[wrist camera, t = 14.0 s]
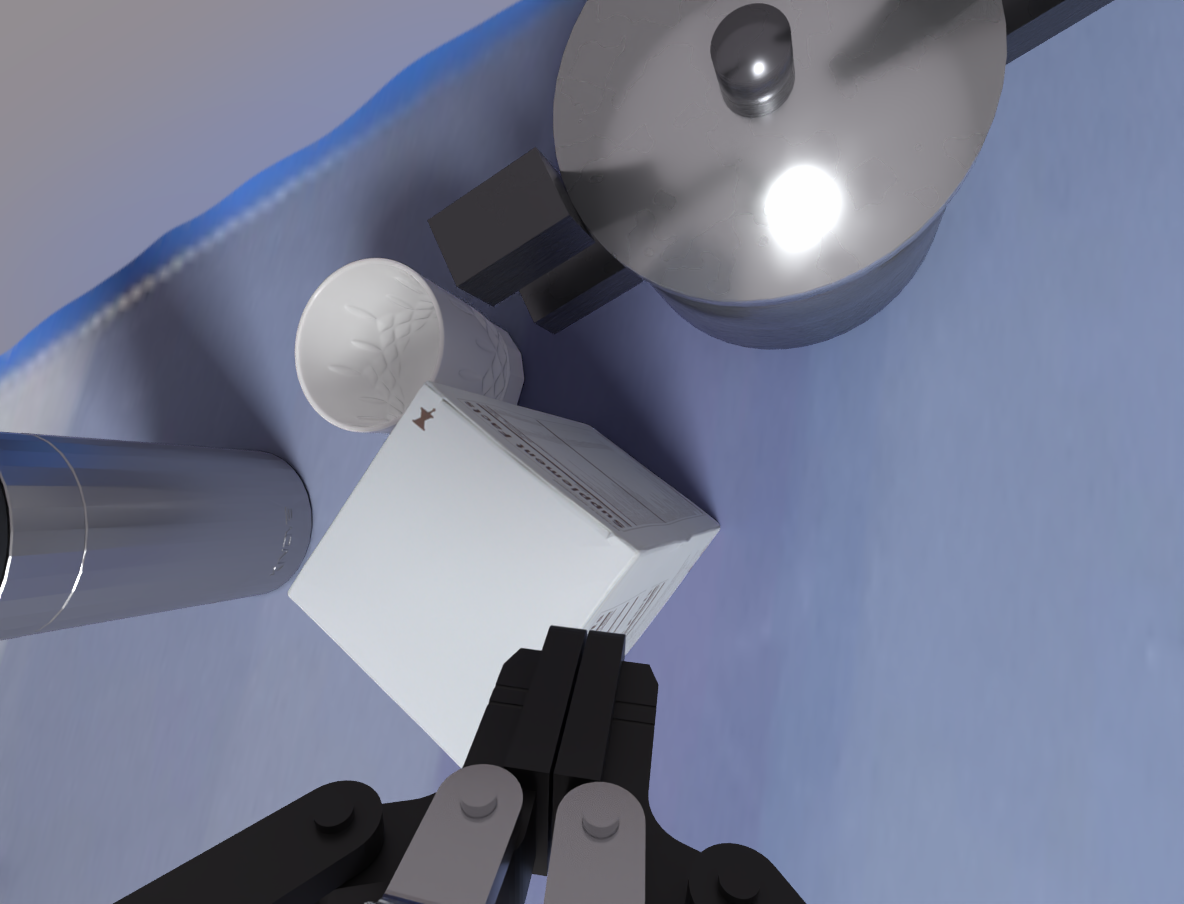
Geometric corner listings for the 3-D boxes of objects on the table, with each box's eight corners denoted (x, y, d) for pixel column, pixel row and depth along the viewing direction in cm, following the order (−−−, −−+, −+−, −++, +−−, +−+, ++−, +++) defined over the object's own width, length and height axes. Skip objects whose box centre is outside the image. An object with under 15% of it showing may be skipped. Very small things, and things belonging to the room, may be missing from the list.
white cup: (470, 283, 42) (364, 222, 32) (562, 369, 40) (477, 331, 30) (389, 385, 43) (265, 356, 34) (474, 474, 41) (367, 468, 32)
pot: (551, 345, 40) (463, 298, 31) (645, -63, 40) (586, -238, 30) (1098, 450, 31) (1212, 431, 22) (1227, -71, 31) (1400, -320, 21)
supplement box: (493, 552, 41) (271, 590, 25) (585, 419, 39) (414, 368, 23) (623, 666, 38) (469, 792, 22) (728, 527, 36) (644, 552, 20)
